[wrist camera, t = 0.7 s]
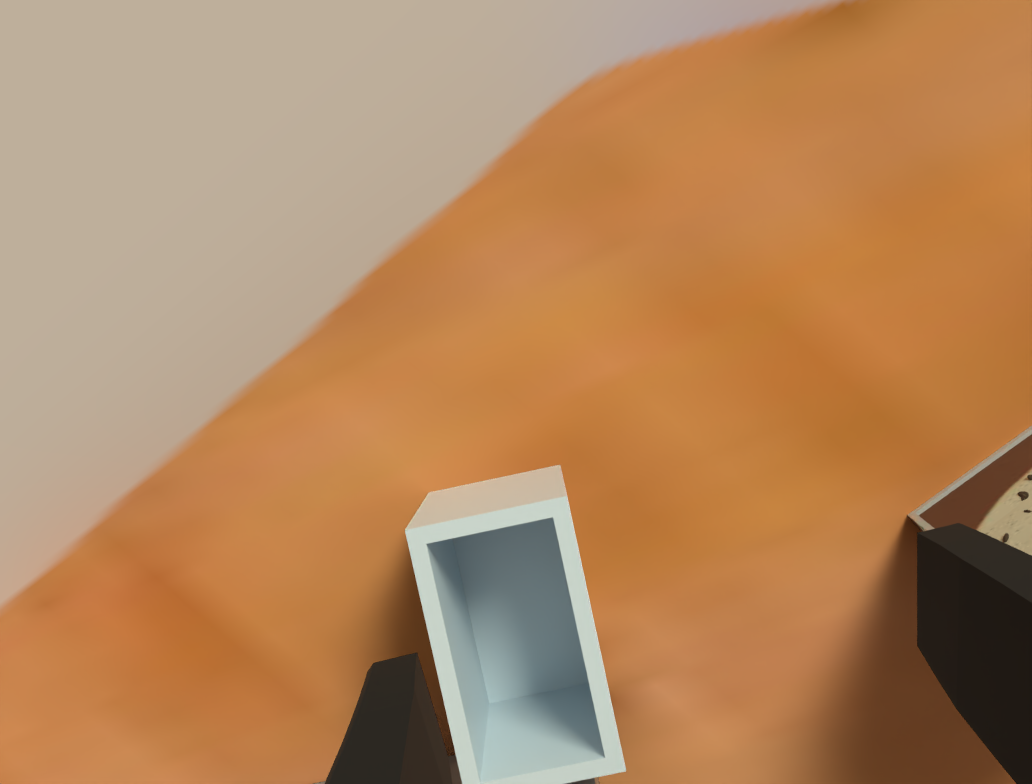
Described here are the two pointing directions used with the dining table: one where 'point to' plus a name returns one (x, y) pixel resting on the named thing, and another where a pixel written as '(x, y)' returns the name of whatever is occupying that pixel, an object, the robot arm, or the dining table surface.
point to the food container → (989, 497)
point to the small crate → (514, 632)
